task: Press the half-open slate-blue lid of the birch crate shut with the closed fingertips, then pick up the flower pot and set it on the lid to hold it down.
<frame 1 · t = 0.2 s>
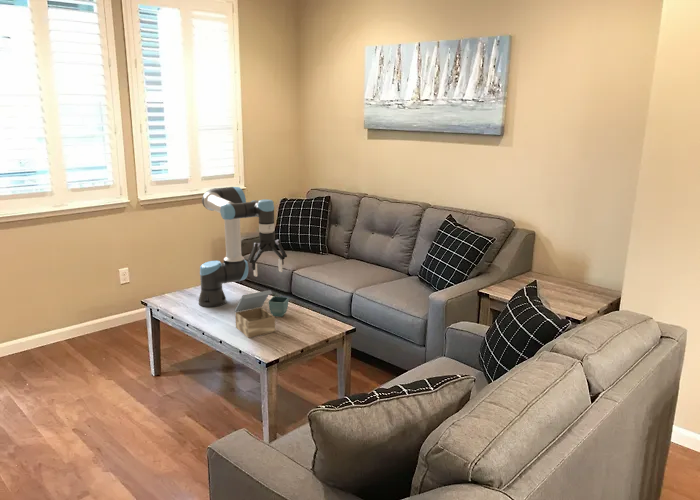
hand: (268, 273, 278), 28 cm above the table, fingers open, 13 cm apart
lid: (253, 302, 278), point 14 cm above the table, hinge at 45.0°
flower pot: (279, 315, 300), on the table
crate: (255, 329, 280), on the table
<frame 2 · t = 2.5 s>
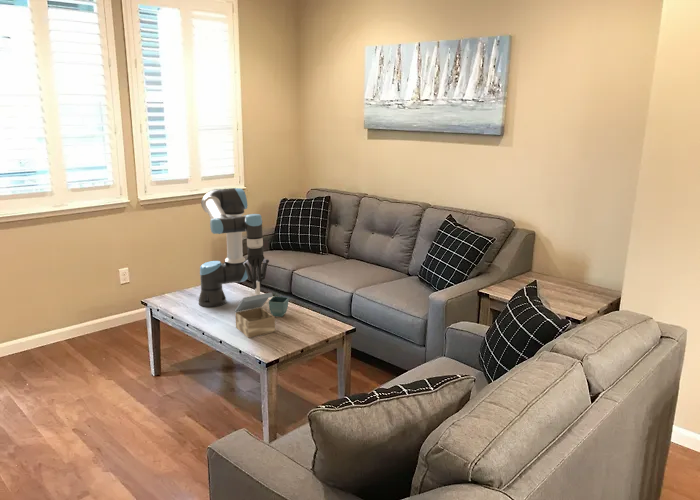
hand: (257, 294, 272), 20 cm above the table, fingers closed
lid: (253, 303, 278), point 13 cm above the table, hinge at 40.2°, touching gripper
everything else where it was.
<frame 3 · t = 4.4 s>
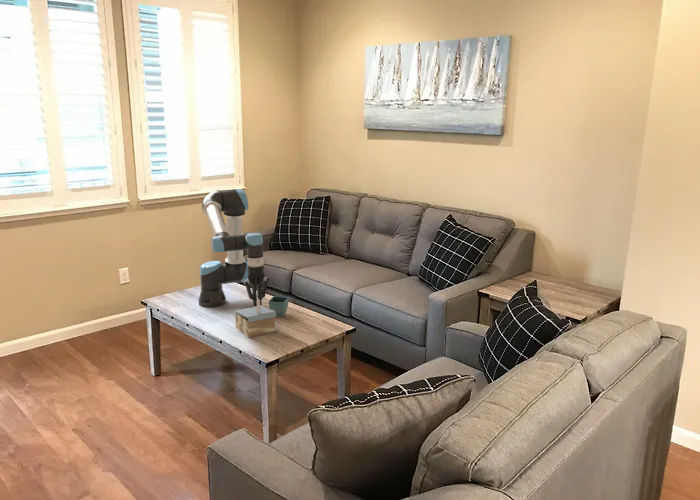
hand: (257, 312, 275), 11 cm above the table, fingers closed
lid: (255, 313, 278), point 9 cm above the table, hinge at 6.5°, touching gripper
everything else where it was.
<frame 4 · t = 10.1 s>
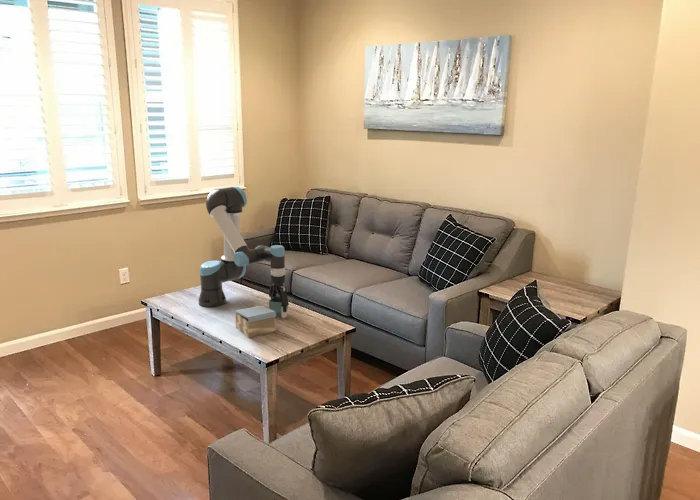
hand: (278, 313, 300), 1 cm above the table, fingers closed on flower pot, 11 cm apart
lid: (255, 313, 278), point 9 cm above the table, hinge at 6.5°
flower pot: (279, 315, 300), on the table, touching gripper
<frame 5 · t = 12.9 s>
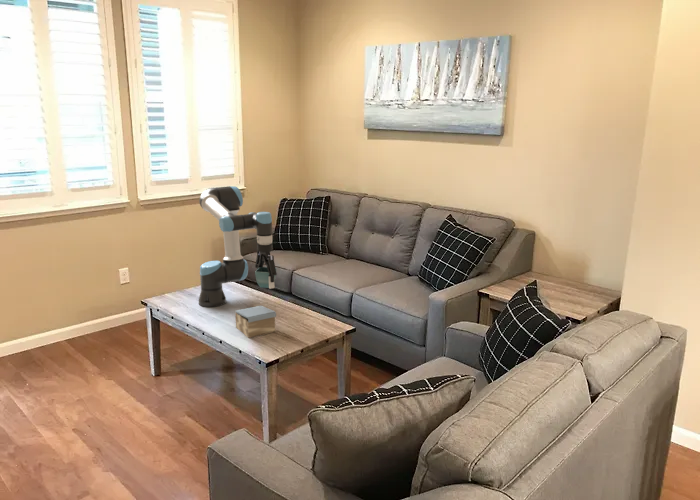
hand: (266, 285, 285), 20 cm above the table, fingers closed on flower pot, 11 cm apart
flower pot: (266, 286, 285), point 19 cm above the table, touching gripper
everything else where it was.
when the fingers open (11 cm above the table, at t = 15.9 s): flower pot stays where it is, resting on lid.
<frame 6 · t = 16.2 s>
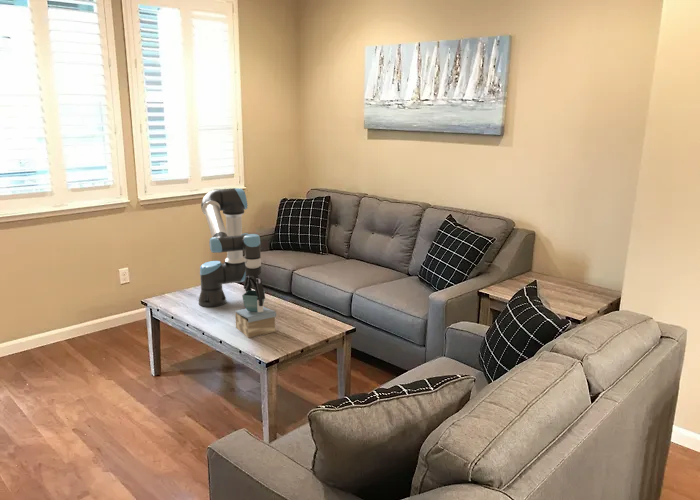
hand: (254, 307, 278), 12 cm above the table, fingers open, 13 cm apart
lid: (255, 313, 278), point 9 cm above the table, hinge at 6.5°, touching flower pot
flower pot: (254, 310, 278), point 10 cm above the table, touching gripper, lid
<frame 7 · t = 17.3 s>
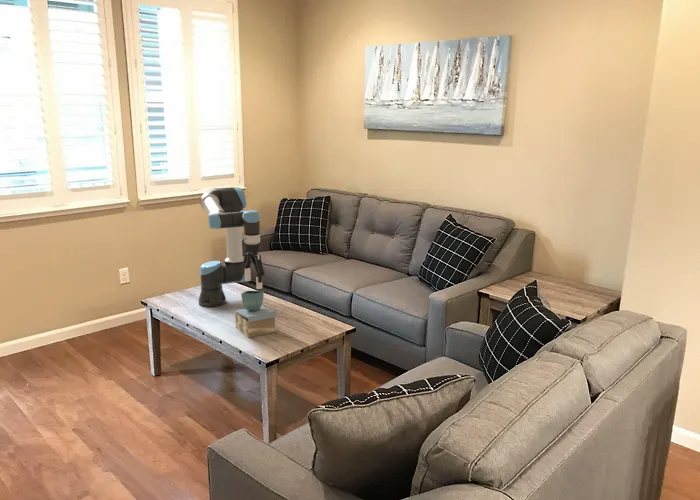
hand: (253, 284, 275), 23 cm above the table, fingers open, 13 cm apart
flower pot: (253, 310, 279), point 10 cm above the table, touching lid
everything else where it was.
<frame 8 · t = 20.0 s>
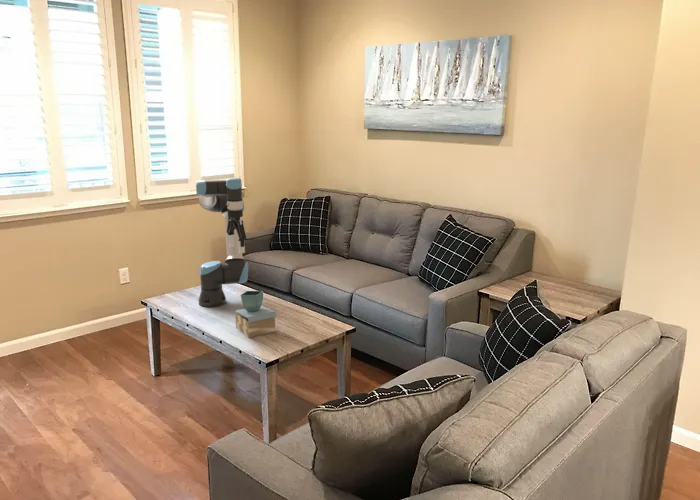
hand: (236, 250, 288), 37 cm above the table, fingers open, 13 cm apart
nothing on the table moved.
at the end: lid at +6° (first picture: +45°); flower pot inside the target area on the crate (1.7 cm from its centre), point 9.5 cm above the crate's base; flower pot tilted 6° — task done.
